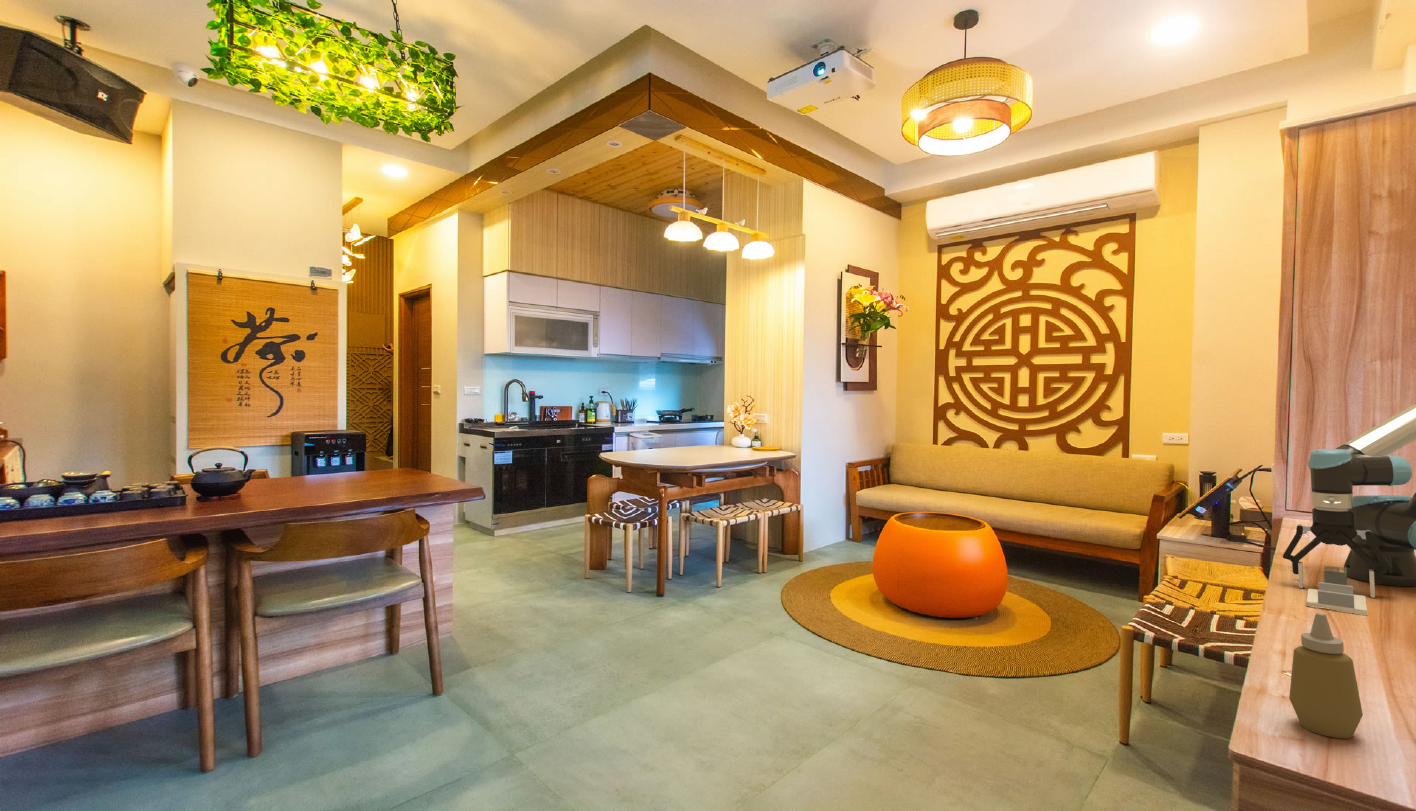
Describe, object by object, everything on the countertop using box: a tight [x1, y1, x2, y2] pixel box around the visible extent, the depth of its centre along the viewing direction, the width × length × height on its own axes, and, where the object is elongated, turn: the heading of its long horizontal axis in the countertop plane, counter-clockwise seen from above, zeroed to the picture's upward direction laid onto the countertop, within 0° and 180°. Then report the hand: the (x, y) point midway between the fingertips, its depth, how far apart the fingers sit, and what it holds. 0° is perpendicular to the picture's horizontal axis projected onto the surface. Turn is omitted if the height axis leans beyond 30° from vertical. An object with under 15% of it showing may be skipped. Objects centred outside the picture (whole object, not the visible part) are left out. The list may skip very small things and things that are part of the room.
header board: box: [1306, 581, 1368, 616], centre depth 149 cm, size 14×10×4 cm
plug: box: [1323, 565, 1348, 585], centre depth 158 cm, size 6×4×6 cm, turn 134°
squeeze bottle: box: [1289, 612, 1364, 739], centre depth 95 cm, size 8×8×18 cm
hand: (1335, 591), depth 158 cm, fingers open, 12 cm apart
